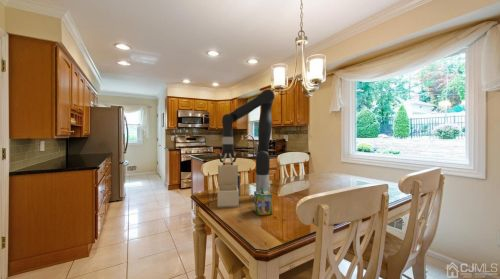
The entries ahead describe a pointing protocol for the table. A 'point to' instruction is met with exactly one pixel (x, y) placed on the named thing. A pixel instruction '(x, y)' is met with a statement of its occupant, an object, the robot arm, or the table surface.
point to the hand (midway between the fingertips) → (227, 168)
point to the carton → (228, 196)
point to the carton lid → (228, 174)
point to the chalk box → (262, 202)
